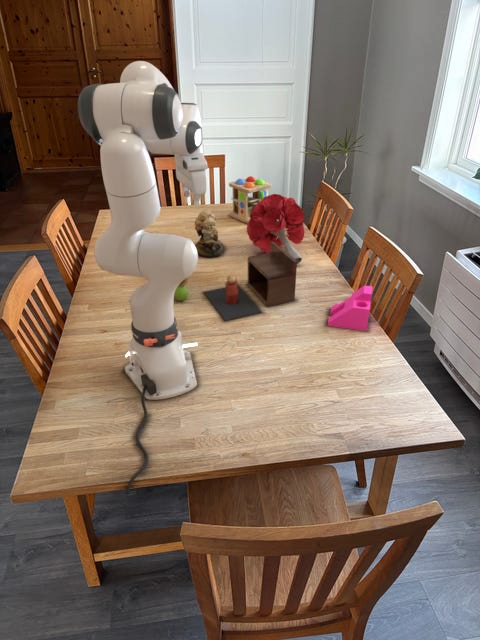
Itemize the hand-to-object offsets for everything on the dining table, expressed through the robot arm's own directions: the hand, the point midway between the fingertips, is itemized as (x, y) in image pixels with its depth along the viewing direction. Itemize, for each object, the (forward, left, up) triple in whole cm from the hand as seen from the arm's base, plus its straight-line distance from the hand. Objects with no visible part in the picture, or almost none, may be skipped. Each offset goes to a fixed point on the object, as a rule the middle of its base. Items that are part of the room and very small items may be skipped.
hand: (191, 200), depth 162 cm
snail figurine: (-9, +8, -28) cm, 31 cm away
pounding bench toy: (+50, -47, -31) cm, 75 cm away
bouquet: (+12, -39, -31) cm, 51 cm away
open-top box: (-16, -22, -31) cm, 41 cm away
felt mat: (-17, -7, -31) cm, 36 cm away
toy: (-17, -7, -31) cm, 36 cm away
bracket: (-42, -37, -31) cm, 64 cm away
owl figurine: (+26, -15, -31) cm, 43 cm away
